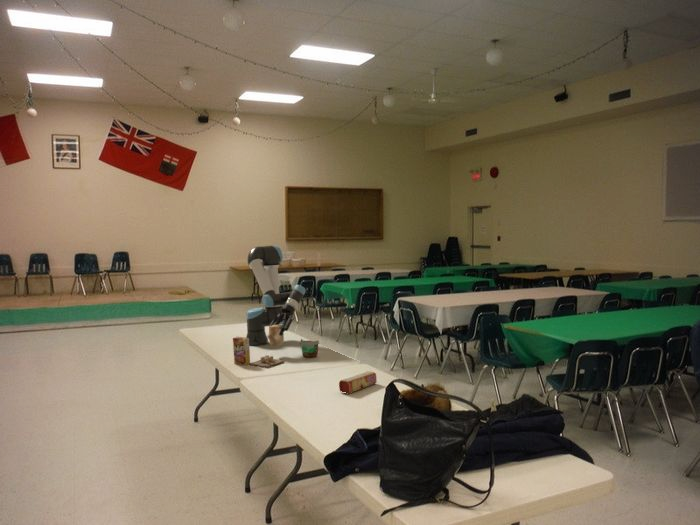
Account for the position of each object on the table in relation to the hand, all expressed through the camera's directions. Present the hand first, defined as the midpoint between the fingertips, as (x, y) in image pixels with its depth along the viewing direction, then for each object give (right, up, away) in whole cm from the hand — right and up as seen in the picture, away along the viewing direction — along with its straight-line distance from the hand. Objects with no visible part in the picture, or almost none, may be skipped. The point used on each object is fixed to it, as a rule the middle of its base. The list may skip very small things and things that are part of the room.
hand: (272, 338), depth 327 cm
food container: (+21, -11, -1) cm, 24 cm away
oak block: (+2, -4, +3) cm, 5 cm away
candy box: (-16, -13, -12) cm, 23 cm away
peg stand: (-1, -12, -14) cm, 18 cm away
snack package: (+50, -15, -66) cm, 84 cm away
